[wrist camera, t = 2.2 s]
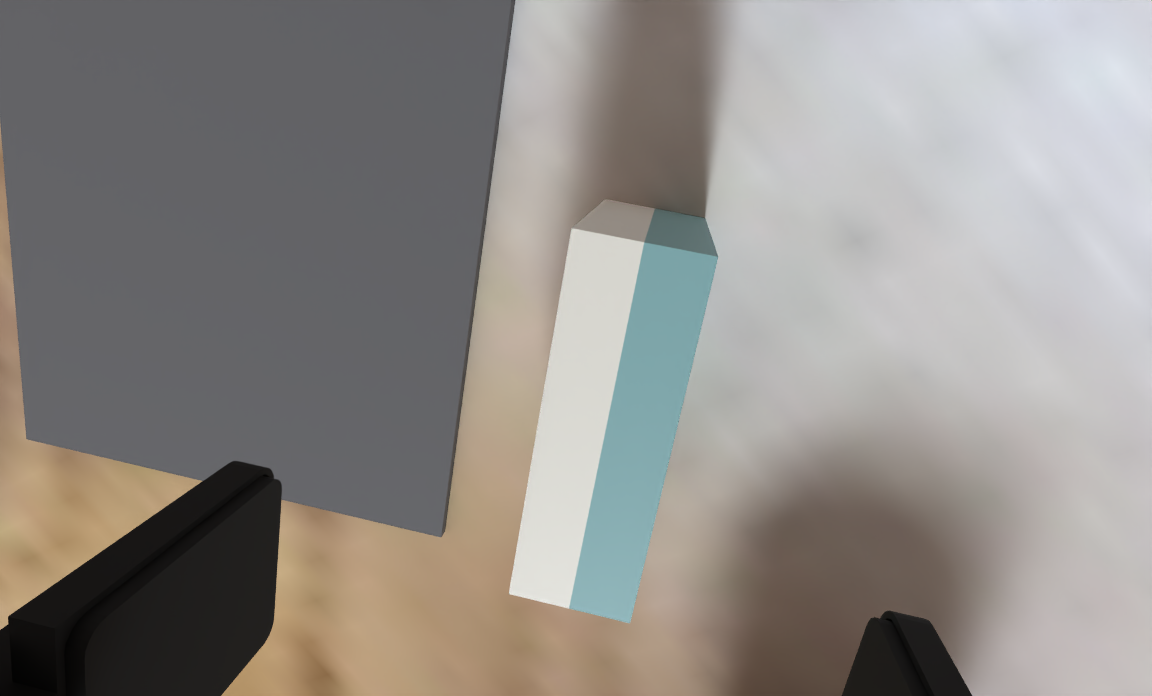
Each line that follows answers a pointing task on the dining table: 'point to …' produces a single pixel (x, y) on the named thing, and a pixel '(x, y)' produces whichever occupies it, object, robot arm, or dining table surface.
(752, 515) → the dining table surface
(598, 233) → the card deck
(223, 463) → the mat
